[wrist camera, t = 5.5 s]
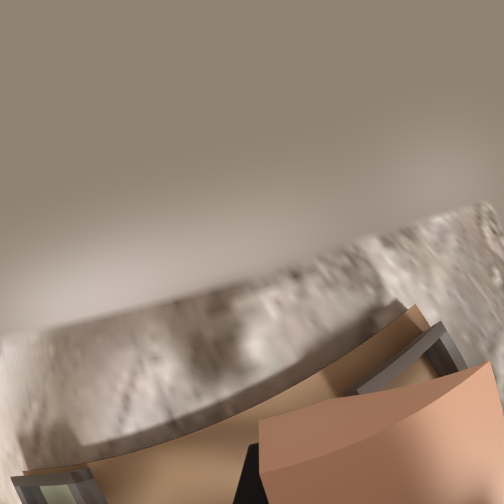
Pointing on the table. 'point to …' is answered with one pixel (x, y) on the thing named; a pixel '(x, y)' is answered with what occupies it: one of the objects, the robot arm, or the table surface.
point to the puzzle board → (246, 427)
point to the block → (391, 446)
